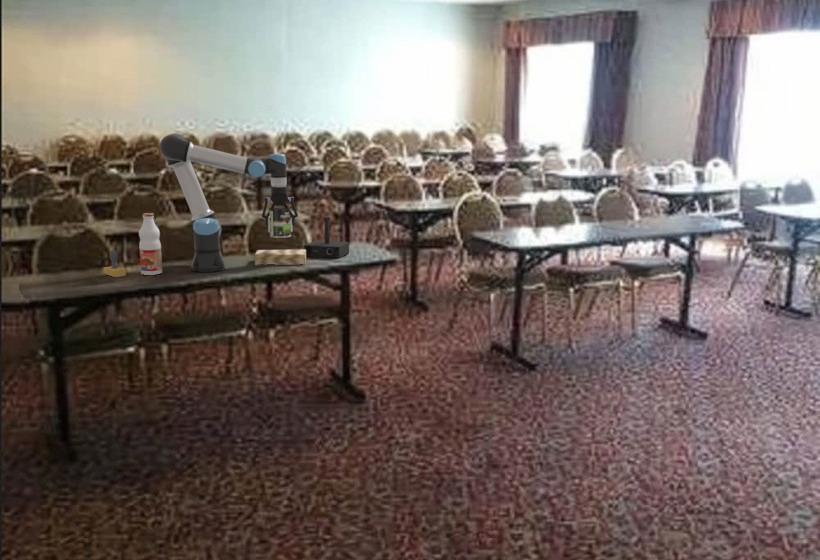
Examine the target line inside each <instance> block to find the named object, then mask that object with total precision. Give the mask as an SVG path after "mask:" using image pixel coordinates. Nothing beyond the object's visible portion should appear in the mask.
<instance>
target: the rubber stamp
mask: <svg viewBox="0 0 820 560" xmlns="http://www.w3.org/2000/svg"><path fill="white" fill-rule="evenodd" d="M118 255H119V254H118V252H117V251H116V250H115V249H112V250H110V252H109V258H110V260H111V263H112V266H105V267H103V274H104V273H106V274H109V275H112V276H118V275H126V276H127V270H126V268H124V267H121V266H117V260H118Z"/></svg>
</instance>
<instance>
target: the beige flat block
mask: <svg viewBox="0 0 820 560" xmlns="http://www.w3.org/2000/svg"><path fill="white" fill-rule="evenodd" d="M306 262H307V256H306V249H302V248H301V249H257V250H256V252H255V253H254V266H261V265H260V264H265V265H264V266H268V265H267V264H275V265H274V266H280V265H281V266H286V265H287V266H288V265H289V266H292V265H293V266H294V265H296V266H297V265H300V264H303V266H304V265H306ZM258 264H259V265H258Z"/></svg>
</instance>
